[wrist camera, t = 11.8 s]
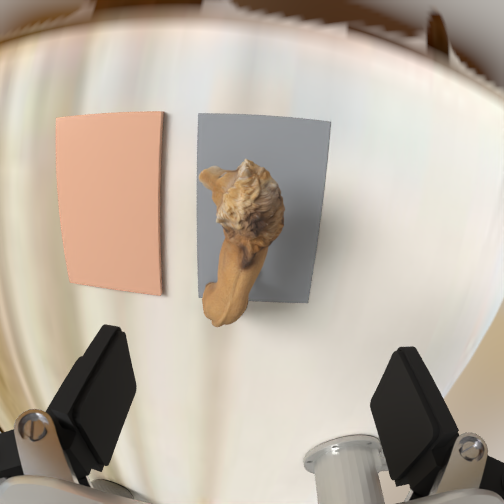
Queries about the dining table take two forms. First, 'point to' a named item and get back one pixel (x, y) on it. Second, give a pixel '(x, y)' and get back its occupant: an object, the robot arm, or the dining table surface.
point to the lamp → (111, 488)
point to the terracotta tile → (111, 199)
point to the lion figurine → (241, 234)
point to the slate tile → (292, 190)
